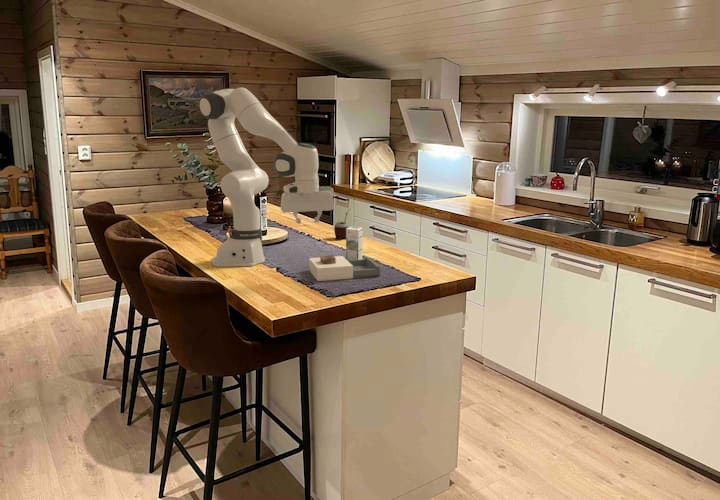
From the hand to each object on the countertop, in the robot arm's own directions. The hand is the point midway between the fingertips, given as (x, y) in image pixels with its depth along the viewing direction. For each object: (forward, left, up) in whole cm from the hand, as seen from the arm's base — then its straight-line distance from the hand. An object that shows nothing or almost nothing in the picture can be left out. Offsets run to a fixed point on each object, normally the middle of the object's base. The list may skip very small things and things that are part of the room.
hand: (307, 222), depth 232 cm
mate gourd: (+30, +61, -21) cm, 71 cm away
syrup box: (+24, +18, -21) cm, 37 cm away
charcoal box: (+21, 0, -21) cm, 30 cm away
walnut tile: (+8, 0, -16) cm, 18 cm away
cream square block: (+9, 0, -21) cm, 23 cm away
